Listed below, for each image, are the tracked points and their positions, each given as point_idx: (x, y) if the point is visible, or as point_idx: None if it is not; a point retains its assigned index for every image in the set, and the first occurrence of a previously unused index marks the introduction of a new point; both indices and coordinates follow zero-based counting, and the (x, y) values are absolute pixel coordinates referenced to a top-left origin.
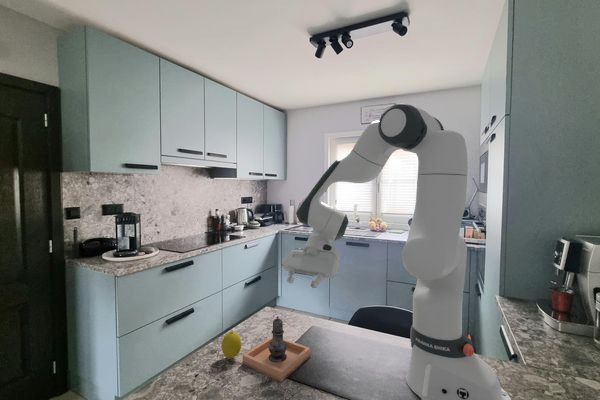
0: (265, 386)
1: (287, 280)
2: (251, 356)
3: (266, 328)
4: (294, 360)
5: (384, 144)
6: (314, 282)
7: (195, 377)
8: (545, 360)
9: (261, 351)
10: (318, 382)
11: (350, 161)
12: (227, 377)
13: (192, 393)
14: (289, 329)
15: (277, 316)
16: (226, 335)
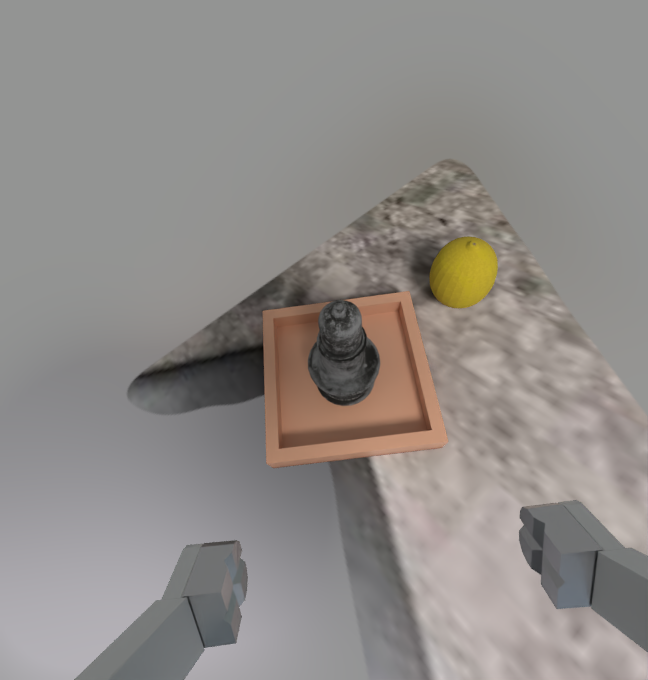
0: (289, 293)
1: (568, 502)
2: (383, 302)
3: None
4: (267, 370)
5: None
6: (185, 573)
7: (436, 217)
8: None
9: (409, 364)
10: (189, 383)
11: None
12: (383, 257)
13: (389, 198)
14: (499, 599)
15: (339, 304)
16: (475, 237)
